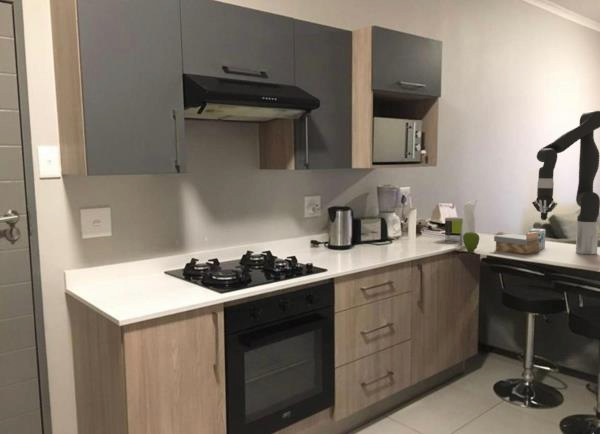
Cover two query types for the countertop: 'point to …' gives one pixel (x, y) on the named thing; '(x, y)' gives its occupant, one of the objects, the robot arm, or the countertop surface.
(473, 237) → the green faceted ovoid
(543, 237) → the light bulb box
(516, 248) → the wooden box
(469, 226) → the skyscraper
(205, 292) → the countertop surface
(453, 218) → the tea box
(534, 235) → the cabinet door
